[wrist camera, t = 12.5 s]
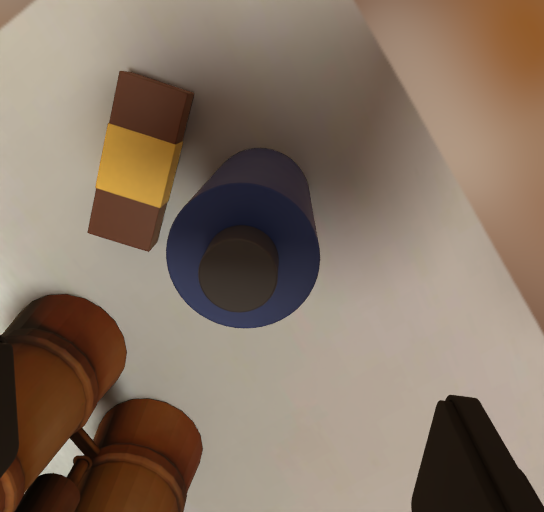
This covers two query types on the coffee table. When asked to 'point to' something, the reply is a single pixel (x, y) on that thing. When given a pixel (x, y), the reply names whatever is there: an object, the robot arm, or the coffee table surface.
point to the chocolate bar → (139, 160)
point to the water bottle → (246, 242)
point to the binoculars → (75, 413)
